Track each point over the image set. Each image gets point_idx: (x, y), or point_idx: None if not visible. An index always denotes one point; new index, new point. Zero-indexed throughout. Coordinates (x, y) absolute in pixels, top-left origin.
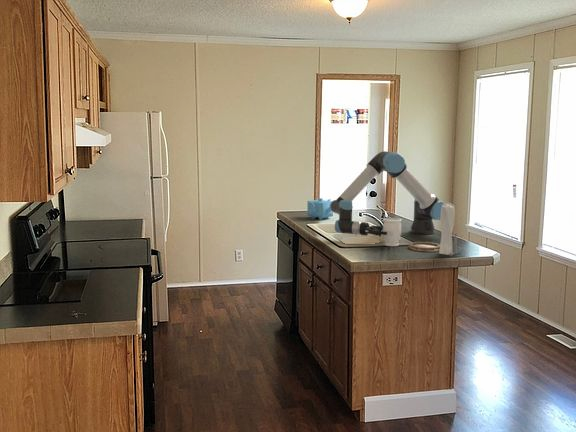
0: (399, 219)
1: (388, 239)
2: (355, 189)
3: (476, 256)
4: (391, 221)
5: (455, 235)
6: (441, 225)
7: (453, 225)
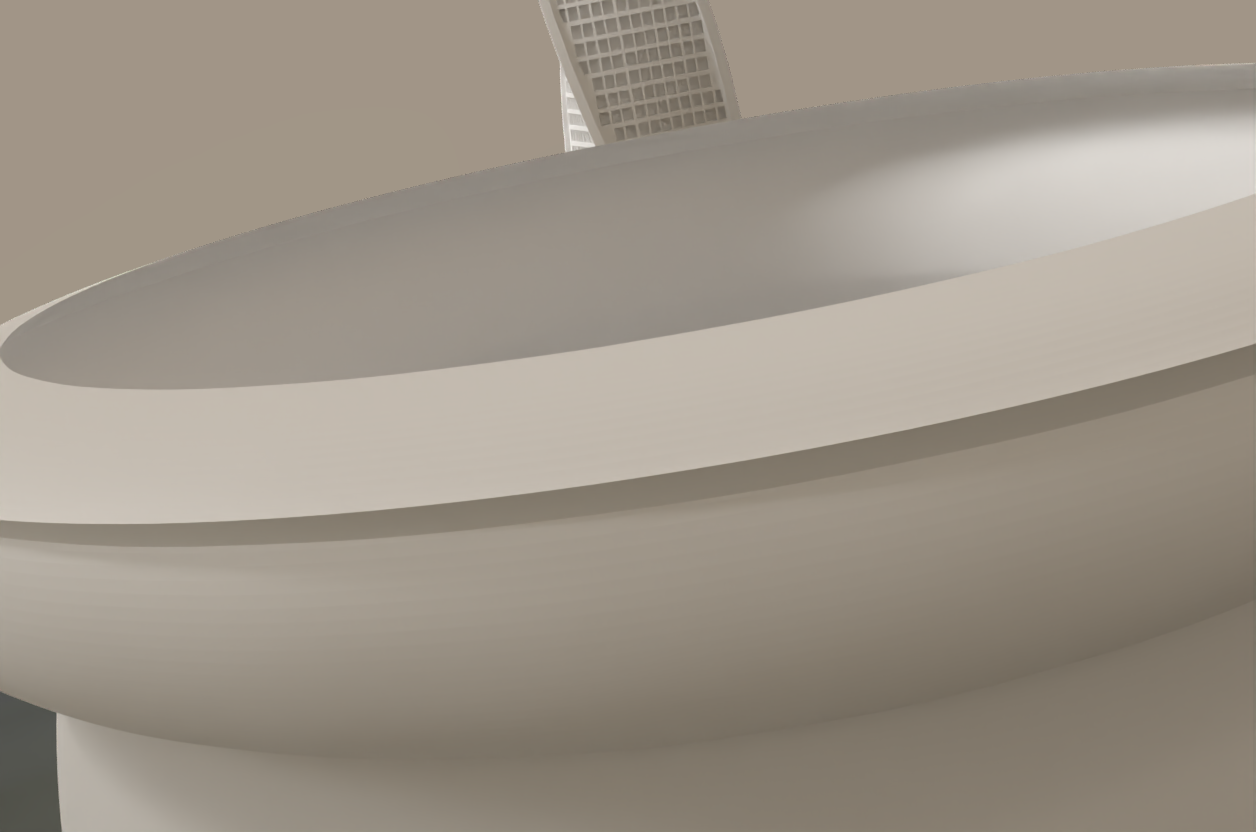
0: (196, 306)
1: None
2: None
3: None
4: (1197, 121)
5: None
6: (717, 50)
7: (566, 83)
